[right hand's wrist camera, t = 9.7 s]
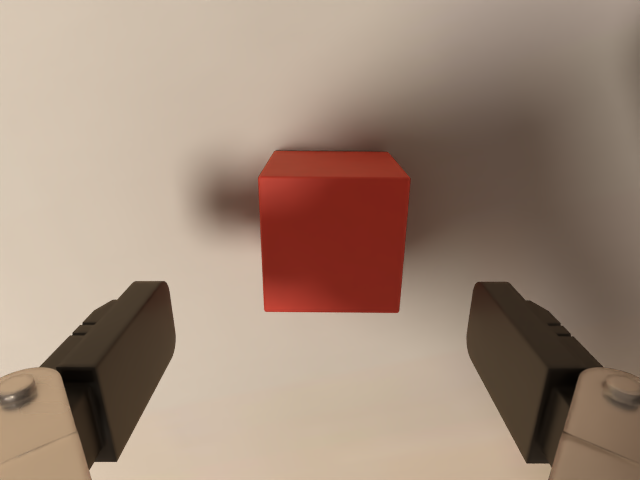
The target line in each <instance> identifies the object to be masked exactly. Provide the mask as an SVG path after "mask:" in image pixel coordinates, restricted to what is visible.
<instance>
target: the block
mask: <svg viewBox="0 0 640 480" xmlns="http://www.w3.org/2000/svg"><path fill="white" fill-rule="evenodd" d="M410 181H411V179H410V177H409V176H408V175H407V174H406V172H405V171H404V170H403V169H402V168H401V167H400V165H399V164H398V163H397V162H396V161H395V160H394V158H393V157H392V156H391V155H390V154H389V153H388V152H348V151H274V153H273V154H272V156H271V157H270V159H269V161H268V162H267V164H266V166H265V167H264V169H263V170H262V172H261V174H260V175H259V177H258V187H259V209H260V230H261V252H262V273H263V294H264V310H265V311H266V312H361V313H398V312H399V307H400V296H401V284H402V273H403V261H404V250H405V238H406V227H407V215H408V204H409V192H410Z"/></svg>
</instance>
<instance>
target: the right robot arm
mask: <svg viewBox="0 0 640 480" xmlns="http://www.w3.org/2000/svg"><path fill="white" fill-rule="evenodd" d="M560 324H561V323H560V322H559V321H558V320H557V319H556V318H555V317H554V316H553V315H552V314H551V313H550V312H549V311H547V310H546V309H544V308H542V307H540V306H539V305H537V304H535V303H533V302H532V301H526V300H525V299H524V298H523V297H522V296H521V295H520V294H519V293H518V292H517V291H516V290H515V289H514V287H513V286H512V285H511V284H510V283H508V282H477V283H476V284H475V286H474V289H473V295H472V302H471V308H470V315H469V322H468V329H467V349H468V353H469V356H470V359H471V361H472V362H473V364H474V366H475V368H476V370H477V372H478V374H479V376H480V377H481V379H482V381H483V383H484V385H485V387H486V389H487V390H488V392H489V394H490V396H491V398H492V400H493V402H494V404H495V405H496V407H497V409H498V411H499V413H500V415H501V417H502V418H503V420H504V422H505V424H506V426H507V428H508V430H509V432H510V433H511V435H512V437H513V439H514V441H515V443H516V445H517V446H518V448H519V450H520V452H521V454H522V456H523V458H524V459H525V461H526V463H549V464H550V465H551V467H552V469H551V472H550V476H549V479H548V480H640V378H639V377H637V376H635V375H632V374H629V373H627V372H624V371H620V370H616V369H611V368H604V367H603V366H602V365H601V364H600V363H599V362H598V361H597V360H596V359H595V358H594V357H593V356H592V355H591V354H590V353H589V352H588V351H587V350H586V349H585V348H584V347H583V346H582V345H581V344H580V343H579V342H578V341H577V340H576V339H575V338H574V337H571V334H570V333H569V332H568V331H567V330H566V329H565V328H564V327H563V326H561V325H560ZM175 341H176V335H175V327H174V320H173V313H172V306H171V299H170V292H169V287H168V285H167V283H166V282H165V281H135V282H133V283H132V284H131V285H130V286H129V287H128V289H127V290H126V291H125V292H124V293H123V294H122V295H121V296H120V297H119V298H118V299H117V300H112V301H110V302H108V303H106V304H105V305H103V306H101V307H99V308H98V309H96V310H94V311H93V312H92V313H91V314H90V315H89V316H88V317H87V318H86V320H85V321H84V322H83V324H82V325H80V326H79V327H78V328H77V329H76V330H75V331H74V332H73V335H72V336H69V337H68V338H67V339H66V340H65V341H64V342H63V343H62V344H61V345H60V346H59V347H58V348H57V349H56V350H55V351H54V352H53V354H52V355H51V356H50V357H49V358H48V359H47V360H46V361H45V362H44V363H43V364H42V365H41V366H40V367H36V368H29V369H24V370H20V371H16V372H13V373H11V374H8V375H5V376H3V377H1V378H0V480H92V479H91V476H90V472H89V470H90V468H91V466H92V465H93V463H94V462H117V460H118V459H119V457H120V455H121V453H122V451H123V449H124V447H125V445H126V443H127V442H128V440H129V438H130V436H131V434H132V432H133V430H134V428H135V426H136V425H137V423H138V421H139V419H140V417H141V415H142V413H143V411H144V409H145V408H146V406H147V404H148V402H149V400H150V398H151V396H152V394H153V392H154V391H155V389H156V387H157V385H158V383H159V381H160V379H161V377H162V375H163V374H164V372H165V370H166V368H167V366H168V364H169V362H170V360H171V358H172V356H173V353H174V349H175Z"/></svg>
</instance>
